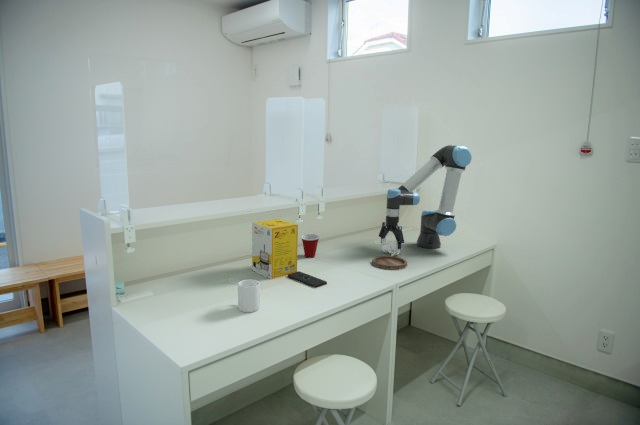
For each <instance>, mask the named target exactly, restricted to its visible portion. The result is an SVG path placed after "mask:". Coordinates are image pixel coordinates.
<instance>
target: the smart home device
mask: <svg viewBox="0 0 640 425" xmlns="http://www.w3.org/2000/svg"><path fill="white" fill-rule="evenodd" d="M288 277H289V279H291V280H294V281H296V282H299V283H302V284H304V285H306V286H309V287H311V288H313V289H317V288H320V287H323V286H326V285H327V284H328V282H327V281H326V280H324V279H321V278H318V277H316V276H314V275H310V274H307V273H305V272H302V271H298V270H297V272H295V273H291V274H288V275H287V278H288Z"/></svg>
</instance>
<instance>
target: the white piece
mask: <svg viewBox="0 0 640 425" xmlns="http://www.w3.org/2000/svg"><path fill="white" fill-rule="evenodd" d="M396 243H397V240H393V241H390V242H389V243H387V244H386V245H384V246H383V247H382V249H381V250H382V252H383V253H389V254H390V256H394V257H395V256H396ZM392 252H393V253H392ZM397 255H399V254H397Z"/></svg>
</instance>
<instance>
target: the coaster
mask: <svg viewBox="0 0 640 425" xmlns="http://www.w3.org/2000/svg"><path fill="white" fill-rule="evenodd" d="M371 263H372V265H373V266H374V267H377V268H379V269H381V270H382V269H384V270H389V271H390V270H391V271H393V270H396V271H399V270H403V269H406V268H407V267H408V261H407V260H406V259H404V258H403V257H399V256H395V255H394V256H391V255H379V256H374V257H373V258H372V260H371Z"/></svg>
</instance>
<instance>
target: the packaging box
mask: <svg viewBox="0 0 640 425" xmlns="http://www.w3.org/2000/svg"><path fill="white" fill-rule="evenodd" d="M298 227H299V225H298V223H294V222H292V221H287V220H285V219H284V220H283V219H280V218H277V219H270V220H269V219H268V220H262V221H255V222H254V221H253V222H251V243H252V244H251V250H252V253H251V256H252V257H251V259H252V260H251V261H252V262H251V270H253V272H254V271H255V272H254V273H257V274H259V275H261V276H262V277H266V278H267V277H268V278H267V279H269V278H270V280H273V279H276V278H280V277H284V276H288V274H291V273H295V272H298V245H299V244H298V239H299V238H298V234H299V232H298V230H299V228H298Z"/></svg>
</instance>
